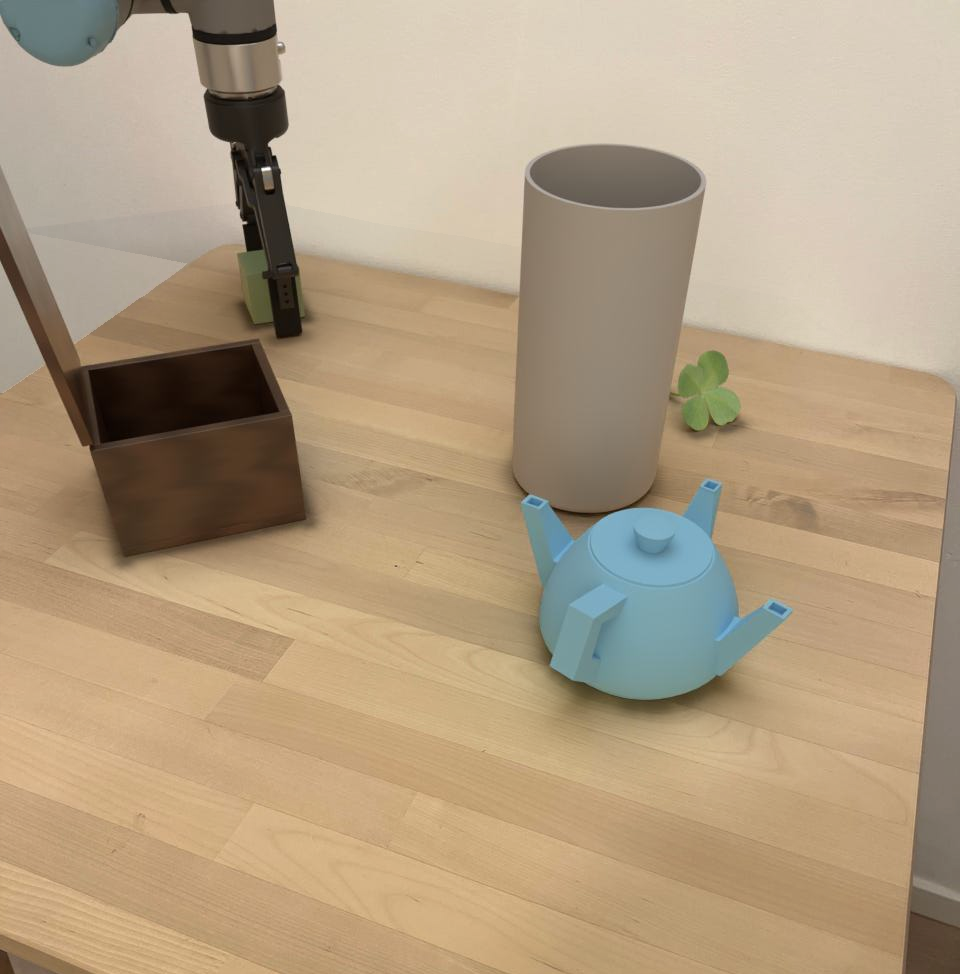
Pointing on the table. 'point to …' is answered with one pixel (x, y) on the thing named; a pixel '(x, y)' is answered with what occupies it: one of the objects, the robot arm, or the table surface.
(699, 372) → the green clover leaf
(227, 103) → the robot arm
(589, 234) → the cylinder vase
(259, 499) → the chest
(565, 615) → the teapot
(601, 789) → the table surface
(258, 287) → the block
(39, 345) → the lid
